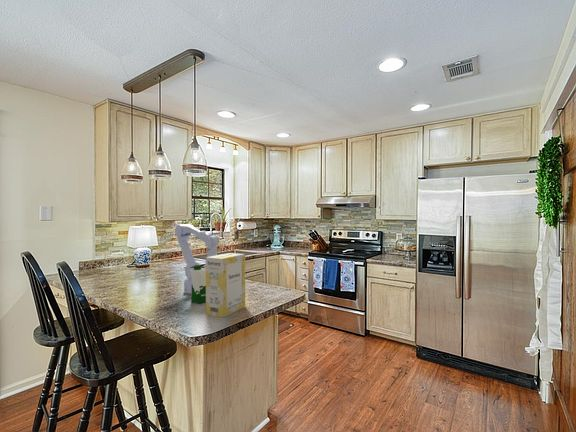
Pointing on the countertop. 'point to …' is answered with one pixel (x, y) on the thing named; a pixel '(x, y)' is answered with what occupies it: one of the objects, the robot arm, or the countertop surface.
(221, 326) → the countertop surface
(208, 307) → the pasta box
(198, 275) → the soya milk
